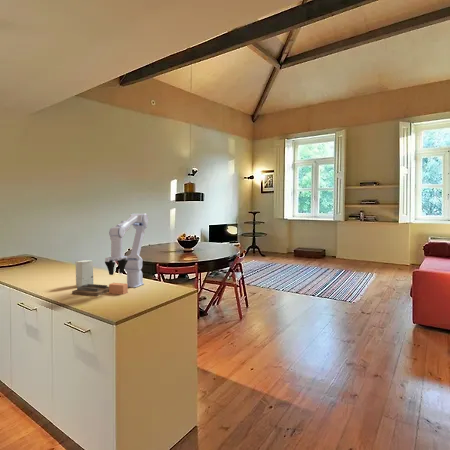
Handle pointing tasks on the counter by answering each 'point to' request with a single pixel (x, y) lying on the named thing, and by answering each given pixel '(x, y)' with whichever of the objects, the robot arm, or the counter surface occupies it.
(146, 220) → the robot arm
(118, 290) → the terracotta cardboard box
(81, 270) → the skincare box
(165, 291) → the counter surface
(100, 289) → the display stand
